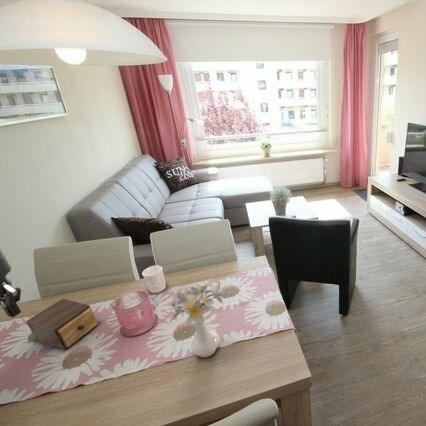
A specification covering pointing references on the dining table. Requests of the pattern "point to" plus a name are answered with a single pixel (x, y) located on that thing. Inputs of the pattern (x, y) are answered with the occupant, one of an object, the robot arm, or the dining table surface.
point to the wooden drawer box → (54, 321)
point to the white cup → (154, 278)
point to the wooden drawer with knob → (77, 327)
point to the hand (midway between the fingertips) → (15, 314)
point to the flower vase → (199, 317)
